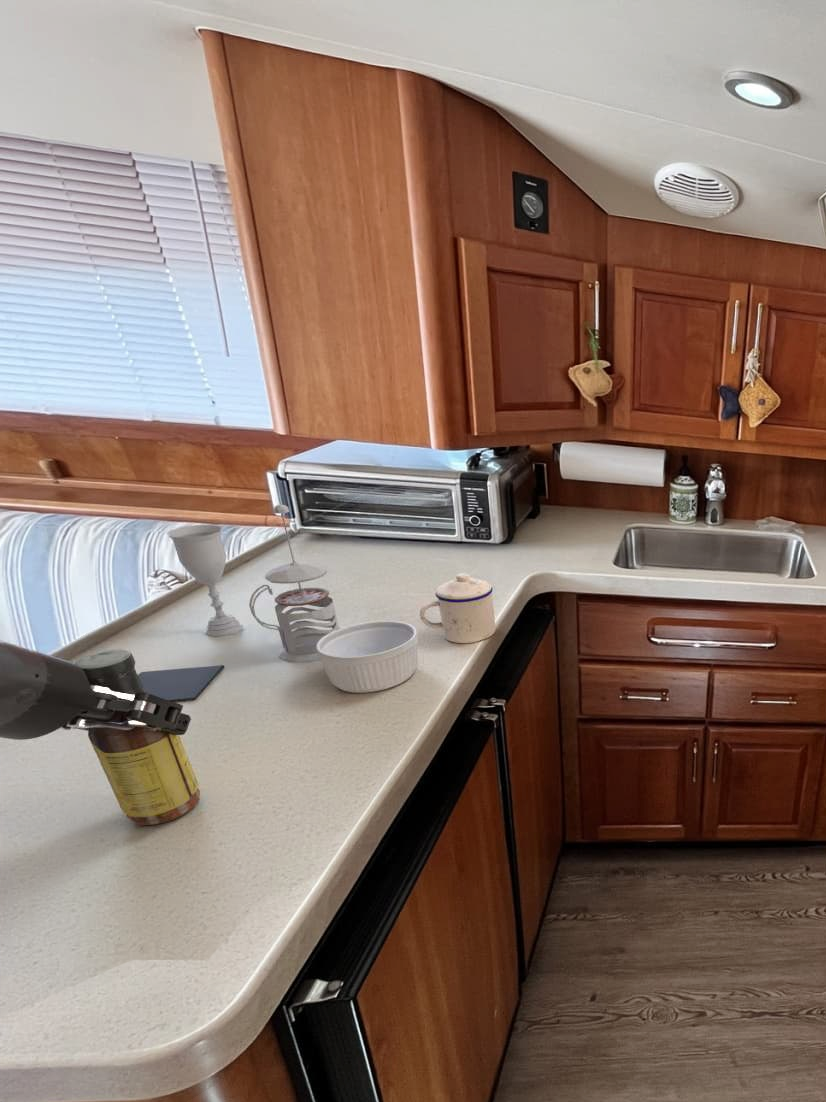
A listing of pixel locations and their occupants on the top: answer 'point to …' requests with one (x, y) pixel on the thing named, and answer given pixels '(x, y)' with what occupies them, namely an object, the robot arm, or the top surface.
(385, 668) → the ramekin
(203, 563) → the chalice
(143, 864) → the top surface
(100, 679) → the sauce bottle
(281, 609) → the french press
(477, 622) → the teacup with lid
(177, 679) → the mat
